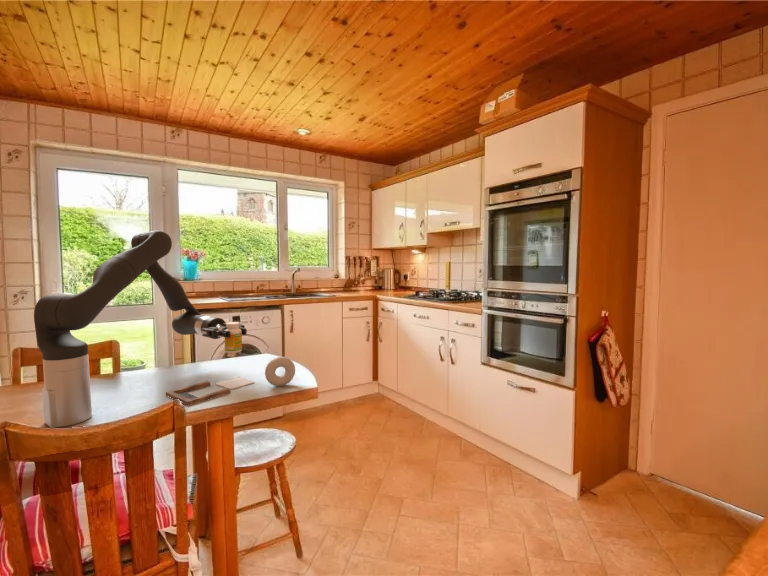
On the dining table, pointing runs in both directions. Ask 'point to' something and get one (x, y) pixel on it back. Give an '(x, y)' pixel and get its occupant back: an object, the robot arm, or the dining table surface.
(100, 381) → the dining table surface
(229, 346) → the supplement bottle
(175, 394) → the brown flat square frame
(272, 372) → the donut
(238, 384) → the pad
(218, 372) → the dining table surface
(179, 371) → the dining table surface
